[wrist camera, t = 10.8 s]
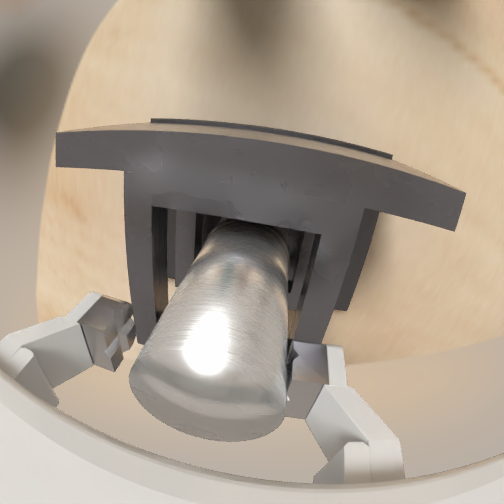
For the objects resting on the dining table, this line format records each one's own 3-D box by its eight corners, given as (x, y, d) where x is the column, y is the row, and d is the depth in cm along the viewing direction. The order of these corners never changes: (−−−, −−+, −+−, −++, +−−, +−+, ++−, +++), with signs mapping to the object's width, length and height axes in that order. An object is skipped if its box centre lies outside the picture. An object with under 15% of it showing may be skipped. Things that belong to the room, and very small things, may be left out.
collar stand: (385, 152, 17) (468, 185, 8) (344, 300, 22) (363, 406, 13) (160, 118, 18) (56, 125, 9) (156, 264, 23) (87, 344, 14)
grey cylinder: (293, 194, 18) (309, 368, 5) (282, 252, 20) (271, 450, 7) (229, 184, 18) (112, 327, 5) (223, 242, 20) (139, 421, 7)
